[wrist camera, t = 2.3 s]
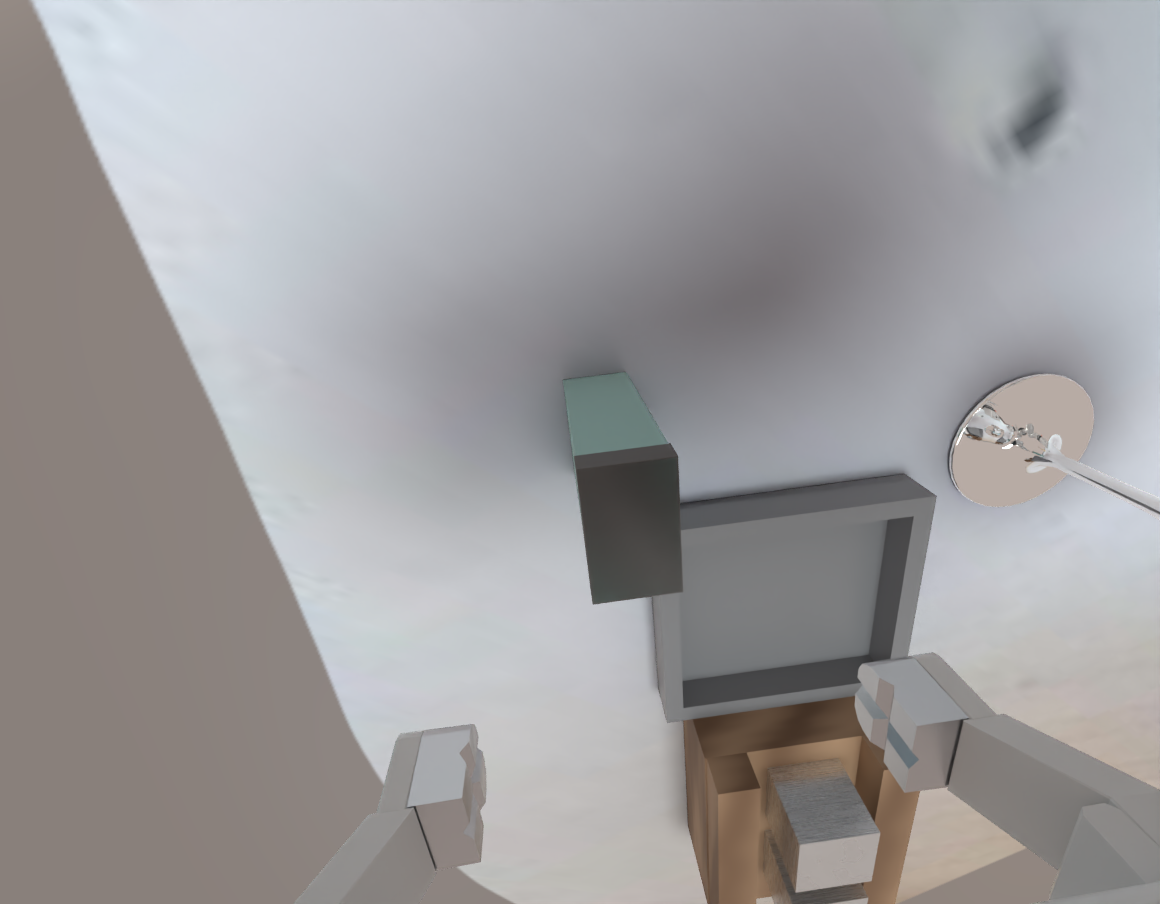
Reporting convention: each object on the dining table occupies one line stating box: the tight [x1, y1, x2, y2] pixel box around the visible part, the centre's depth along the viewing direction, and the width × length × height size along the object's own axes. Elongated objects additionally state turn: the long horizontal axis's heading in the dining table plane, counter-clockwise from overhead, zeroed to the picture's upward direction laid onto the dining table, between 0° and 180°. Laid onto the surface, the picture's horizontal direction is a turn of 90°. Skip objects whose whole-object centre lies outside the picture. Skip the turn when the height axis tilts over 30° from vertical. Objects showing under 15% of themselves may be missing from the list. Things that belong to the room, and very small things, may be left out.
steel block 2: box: [763, 829, 868, 904], centre depth 31 cm, size 4×4×4 cm
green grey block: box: [563, 372, 683, 604], centre depth 22 cm, size 5×3×10 cm, turn 6°
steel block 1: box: [765, 758, 880, 893], centre depth 29 cm, size 4×4×4 cm
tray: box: [652, 474, 937, 723], centre depth 30 cm, size 14×13×2 cm
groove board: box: [684, 696, 920, 904], centre depth 33 cm, size 11×14×7 cm
